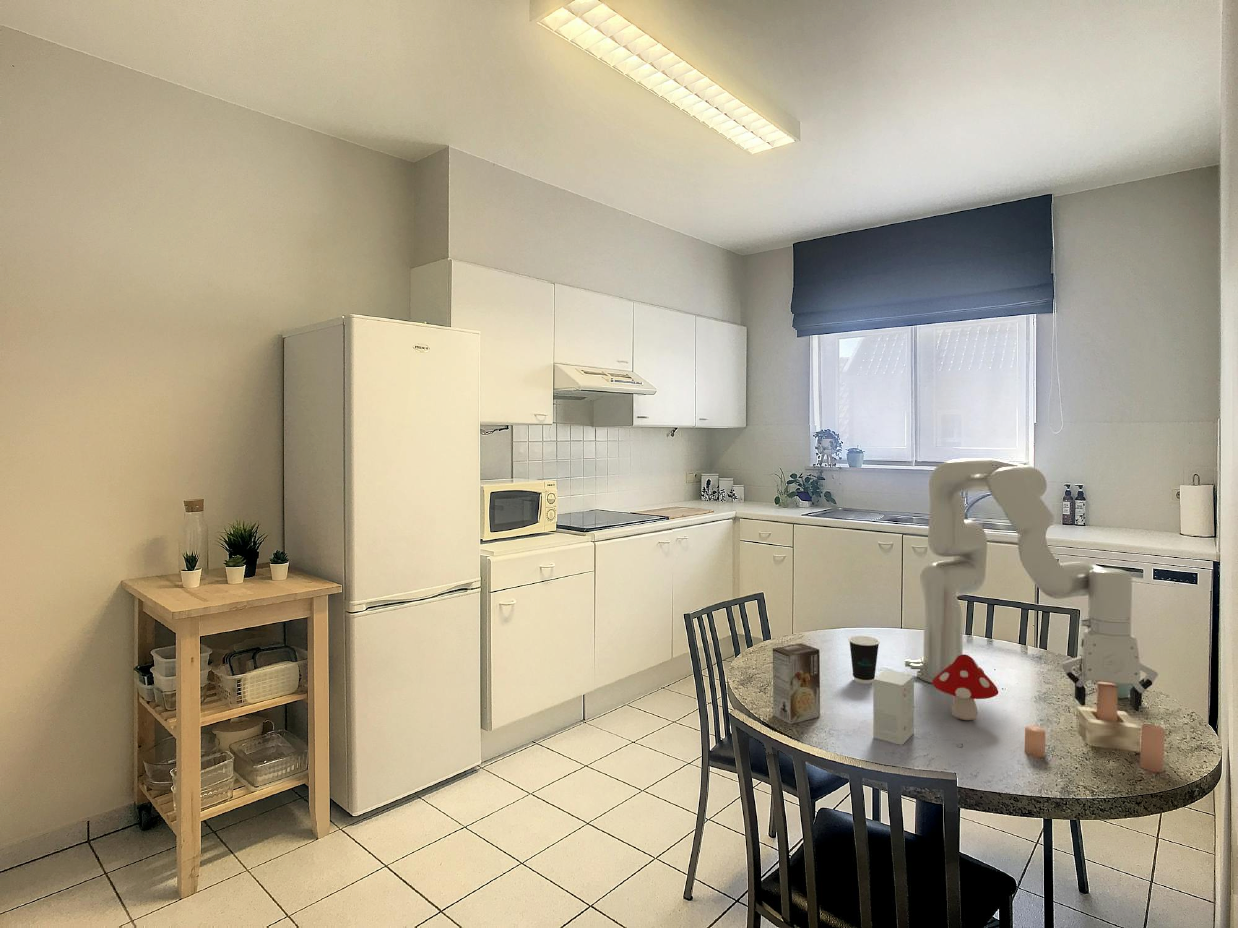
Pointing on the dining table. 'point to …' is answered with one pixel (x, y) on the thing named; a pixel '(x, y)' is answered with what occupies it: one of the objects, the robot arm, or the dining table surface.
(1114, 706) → the long pin
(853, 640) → the dixie cup
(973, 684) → the decorative mushroom
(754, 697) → the dining table surface
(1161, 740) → the medium pin
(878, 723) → the small box
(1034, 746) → the short pin
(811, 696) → the coffee box
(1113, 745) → the bore block
